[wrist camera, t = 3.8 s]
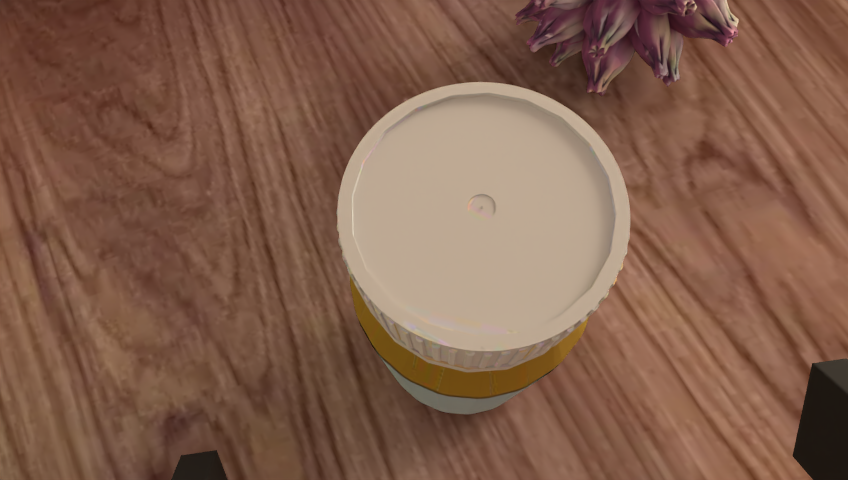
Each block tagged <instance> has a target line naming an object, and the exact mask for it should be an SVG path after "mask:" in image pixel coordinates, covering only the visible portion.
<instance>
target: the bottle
mask: <svg viewBox="0 0 848 480" xmlns="http://www.w3.org/2000/svg"><path fill="white" fill-rule="evenodd" d="M336 215H337V217H338V223H337V231H338V233H339V236H340V237H339V239H338V242H339V245H340V247H341V249H342V251H343V253H342V257H343V260H344V262H345V264H346V266H347V267H348V269H347V270H348V273H349V275H350V286H351V291H352V296H353V301H354V307H355V311H356V314H357V317H358V320H359V322H360V325H361V327H362V328H363V330H364V332H365V334H366V336H367V337H368V339H369V341H370V343H371V344H372V346H373V348H374V350H375V351H376V352H377V354H378V355H379V356H380V358H381V359H382V361H383V362H384V363H385V365H386V366H387V367H388V369H389V370H390V371H391V373H392V374H393V376H394V377H395V378H396V380H397V381H398V382H399V384H400V385H401V386H402V387H403V388H404V389H405V390H406V391H407V392H409V393H410V394H411V395H412V396H413V397H414V398H415V399H416V400H418V401H420V402H421V403H423V404H425V405H427V406H430V407H432V408H434V409H437V410H439V411H442V412H446V413H455V414H475V413H479V412H483V411H487V410H491V409H494V408H496V407H498V406H500V405H502V404H503V403H505V402H506V401H508V400H509V399H511V398H512V397H514V396H516V395H517V394H518V393H520V392H521V391H523V390H524V389H526V388H527V387H529V386H530V385H532V384H533V383H535V382H536V381H538V380H539V379H541V378H542V377H544V376H545V375H547V374H548V373H550V372H551V371H552V370H553V369H554V368H556V367H557V366H558V365H559V364H560V363H561V362H562V361H563V359H564V358H565V357H566V355H567V354H568V353H569V352H570V350H571V349H572V348H573V347H574V345H575V344H576V343H577V341H578V340H579V339H580V337H581V335H582V333H583V332H584V330H585V327H586V324H587V321H588V318H589V316H590V315H591V314H592V313H593V312H595V311H596V310H597V308H598V307H599V304H600V303H601V302H602V301H603V300H604V299H605V298H606V297H607V296H608V294H609V291H608V290H609V289H610V288H611V287H612V286H613V285H614V284H615V283H616V281H617V277H616V276H617V274H618V273H619V272H620V271H621V270H622V267H623V263H622V262H623V260H624V257H625V256H626V254H627V245H628V240H629V237H630V234H629V233H630V206H629V199H628V194H627V189H626V186H625V182H624V179H623V176H622V174H621V171H620V169H619V167H618V165H617V162H616V161H615V159H614V157H613V155H612V153H611V152H610V150H609V149H608V147H607V146H606V144H605V143H604V142H603V140H602V139H601V138H600V136H599V135H598V134H597V133H596V132H595V131H594V130H593V129H592V128H591V127H590V126H589V125H588V124H587V123H586V122H585V121H584V120H583V119H582V118H580V117H579V116H578V115H577V114H575V113H574V112H573V111H571V110H570V109H568V108H567V107H565V106H564V105H562V104H560V103H559V102H557V101H555V100H553V99H551V98H549V97H547V96H545V95H542V94H540V93H537V92H535V91H532V90H529V89H525V88H522V87H518V86H513V85H508V84H502V83H492V82H470V83H460V84H453V85H448V86H444V87H440V88H436V89H433V90H430V91H427V92H425V93H422V94H420V95H417V96H415V97H413V98H411V99H409V100H407V101H405V102H404V103H402V104H400V105H399V106H397V107H396V108H394V109H393V110H391V111H390V112H389V113H387V114H386V115H385V116H384V117H383V118H381V119H380V120H379V121H378V122H377V123H376V124H375V125H374V126H373V127H372V128H371V129H370V130H369V132H368V133H367V134H366V135H365V136H364V138H363V139H362V140H361V142H360V143H359V145H358V146H357V148H356V149H355V151H354V153H353V155H352V157H351V159H350V161H349V163H348V165H347V167H346V170H345V173H344V176H343V179H342V183H341V187H340V192H339V195H338V208H337V212H336Z"/></svg>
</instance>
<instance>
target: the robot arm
mask: <svg viewBox="0 0 848 480" xmlns="http://www.w3.org/2000/svg"><path fill="white" fill-rule="evenodd" d="M793 457H794V458H795V459H796V460H797V462H798V463H799V464H800V465H801V466H802V467H803V468H804V470H805V471H806V472H807V473H808V474H809V475H810V477H811V478H812V479H813V480H848V359H840V360H833V361H826V362H819V363H812V367H811V372H810V377H809V381H808V386H807V391H806V396H805V400H804V405H803V410H802V414H801V419H800V424H799V429H798V433H797V438H796V443H795V448H794V452H793ZM171 480H228V479H227V477H226V474H225V471H224V469H223V466H222V463H221V461H220V458H219V455H218V453H217V450H216V451H209V452H202V453H195V454H188V455H181V457H180V460H179V462H178V465H177V467H176V469H175V472H174V474H173V477H172V479H171Z"/></svg>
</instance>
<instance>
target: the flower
mask: <svg viewBox="0 0 848 480" xmlns="http://www.w3.org/2000/svg"><path fill="white" fill-rule="evenodd" d="M515 16H516V17H517V18H516V19H515V20H517V24H516V25H519V24H523V23H526V22H528V21H540V22H539V24H538V27H537V29H536V31H535V33H534V35H533V36H532V37H531V38H530V39H529V40H528V41H527V44H528V45H529V46H530V48H529V49H530V50H531V51H533V52H536V51H537V50H539V49H540V48H541V47H543V46H545V45H550V44H553V43H557V46H556V49H555V52H554V53H553V55H552V57H551V59H550V60H549V63H550V64H552V65H551V66H555V67H557V66H558V65H560V64H561V63H562V62H563V61H564V60H565V59H566V58H568V57H570V56H572V55H574V54H576V53H578V52H579V51H581V50H582V51H581V52H582V60H583V63H584V66H585V69H586V71H587V75H588V85H587V93H589V92H591V91H592V92H593V93H594V92H596V93H599V94H600V95H601V96H603V95H604V94H605V92H606V89H607V86H608V84H609V83H610V81H611V80H612V79H613V78H614V77H616V76H617V75H618V74H619V73H620V72H621V71H622V70H624V68H625V67H626V65H627V64H628V63H629V62H630V61H631V59H632V56H633V54H634V52H635V50H636V52H637V53H638V54H639V55H640V57H641V58H642V59H643V60H644V61H645V62H646V63H647V64H648V65H649V66H651V67H652V69H653V72H654V75H655V77H656V78H660V79H662V80H663V82H664V83H665V84H666V85H667V87H668V86H669V84H670V83H671V82H675V81H676V80H679V79H680V76H679V71H678V63H679V59H680V56H681V52H682V47H683V37H682V35H684V36H686V37H690V38H705V39H712V40H715V41H717V42H718V43H720V44H721V45H723V46H727V45H728V43H732V40H733V38H734V37H737V36H738V35H737V33H738V29H737V23H738V22H739V20H738V19H737V18H736V17H735V16H734V15H733V14H732V13H731V12H730V10H729V7H728V4H727V0H531V2H530V3H529V4H528V5H527V6H526V7H525V8H524V9H522V10H521V11H519V12H518V13H517V14H516V15H515Z"/></svg>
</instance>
